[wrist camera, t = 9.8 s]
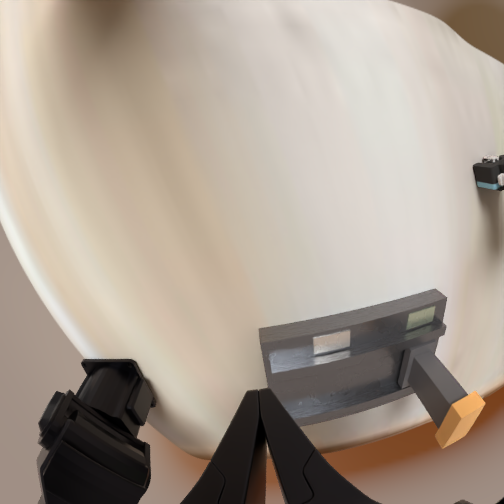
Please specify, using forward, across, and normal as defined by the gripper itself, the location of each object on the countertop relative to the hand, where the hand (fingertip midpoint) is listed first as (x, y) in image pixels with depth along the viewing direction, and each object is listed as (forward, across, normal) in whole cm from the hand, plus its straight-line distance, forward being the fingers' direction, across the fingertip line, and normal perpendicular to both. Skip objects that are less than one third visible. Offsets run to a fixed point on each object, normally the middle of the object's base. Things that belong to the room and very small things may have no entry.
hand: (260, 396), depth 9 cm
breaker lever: (+10, -14, +11) cm, 20 cm away
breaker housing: (+12, -8, +11) cm, 18 cm away
